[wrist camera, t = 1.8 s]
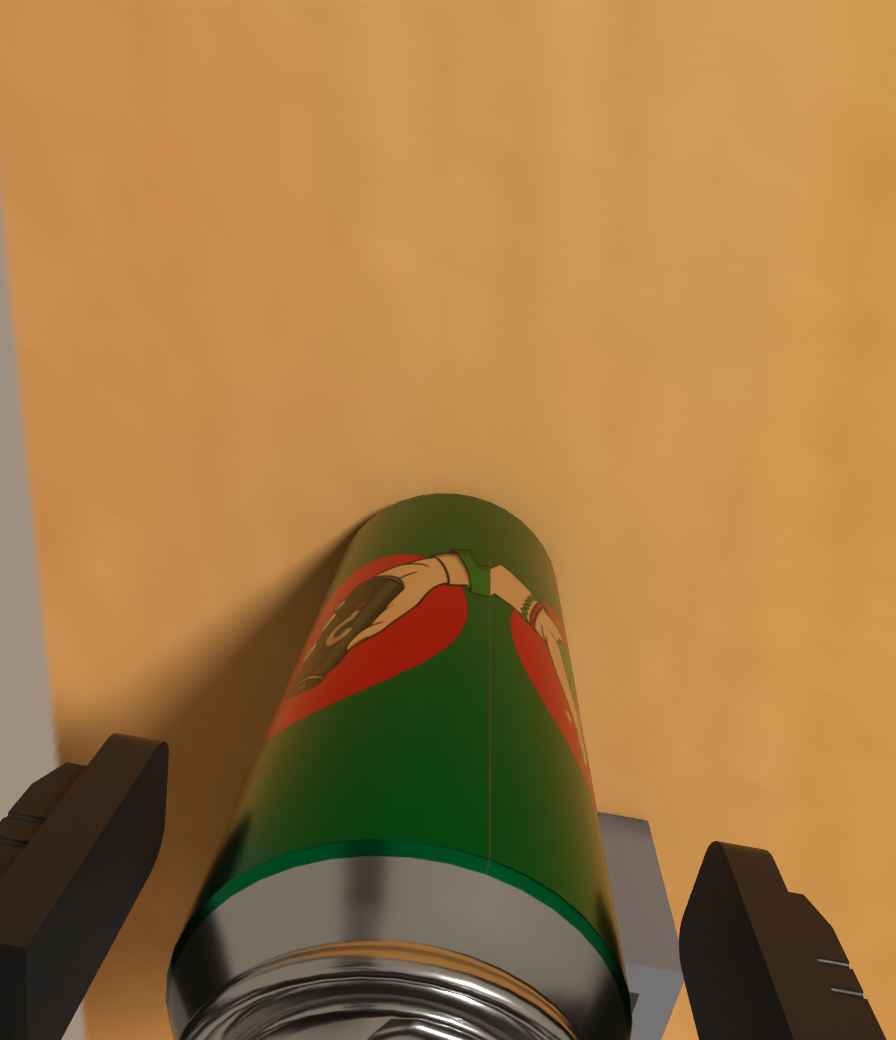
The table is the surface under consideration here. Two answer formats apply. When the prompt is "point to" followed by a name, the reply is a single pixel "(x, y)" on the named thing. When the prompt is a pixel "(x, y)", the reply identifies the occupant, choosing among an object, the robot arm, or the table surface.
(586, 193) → the table surface
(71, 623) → the table surface
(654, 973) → the grey hollow square box
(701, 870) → the robot arm
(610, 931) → the soda can
